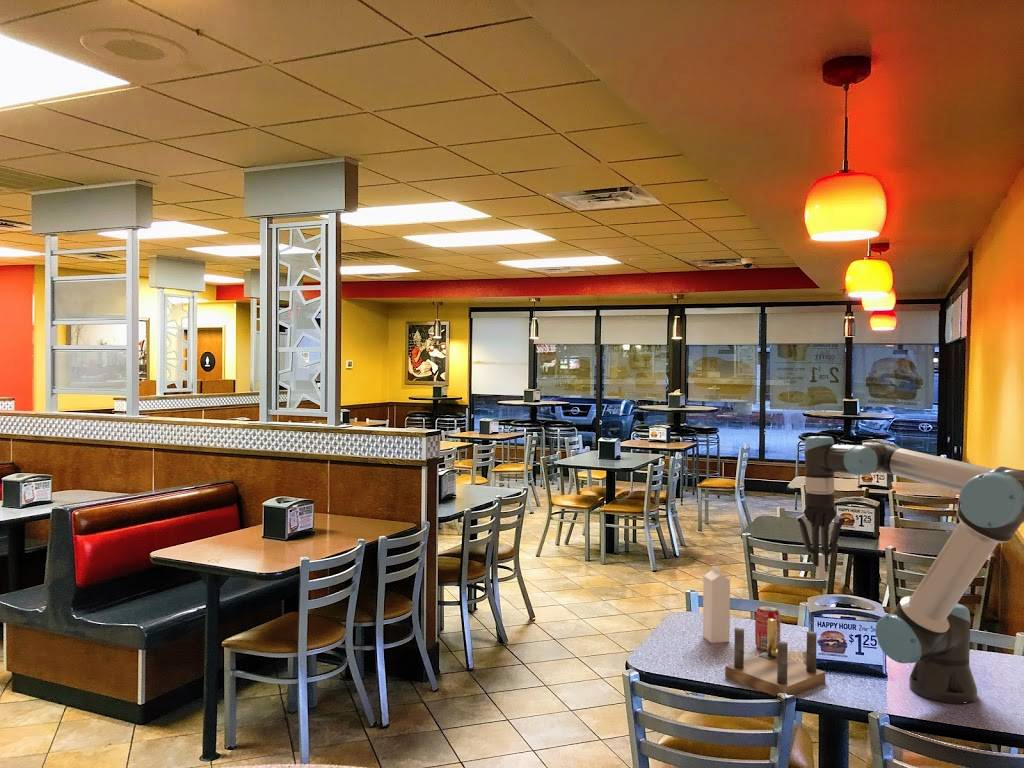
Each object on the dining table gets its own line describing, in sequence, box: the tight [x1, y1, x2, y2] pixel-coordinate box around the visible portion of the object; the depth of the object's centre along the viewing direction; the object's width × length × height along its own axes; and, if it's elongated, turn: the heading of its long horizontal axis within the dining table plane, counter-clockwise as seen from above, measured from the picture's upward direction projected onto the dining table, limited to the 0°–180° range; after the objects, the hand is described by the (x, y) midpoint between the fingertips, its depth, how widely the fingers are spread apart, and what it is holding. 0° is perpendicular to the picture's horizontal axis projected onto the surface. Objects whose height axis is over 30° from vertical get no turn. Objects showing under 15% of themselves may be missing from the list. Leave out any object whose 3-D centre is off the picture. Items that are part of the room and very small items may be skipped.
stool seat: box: [724, 627, 826, 697], centre depth 206 cm, size 18×18×13 cm
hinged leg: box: [766, 618, 777, 657], centre depth 214 cm, size 5×2×9 cm, turn 21°
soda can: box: [754, 604, 781, 651], centre depth 231 cm, size 7×7×12 cm
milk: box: [702, 565, 731, 644], centre depth 238 cm, size 6×6×22 cm
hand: (820, 577), depth 216 cm, fingers closed
